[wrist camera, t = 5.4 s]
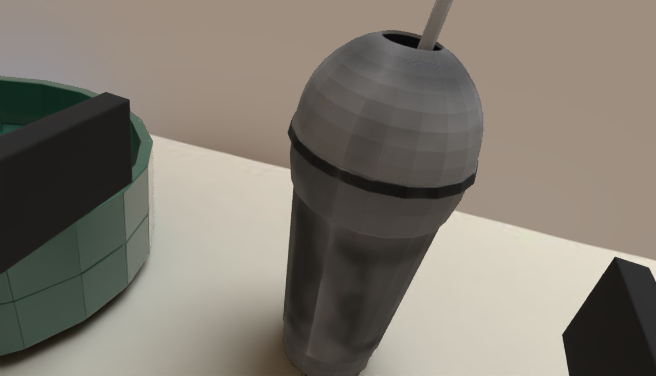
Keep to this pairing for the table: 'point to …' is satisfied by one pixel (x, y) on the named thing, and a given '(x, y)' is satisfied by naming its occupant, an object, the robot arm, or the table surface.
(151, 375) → the table surface
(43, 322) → the green pet bowl
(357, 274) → the beverage cup
